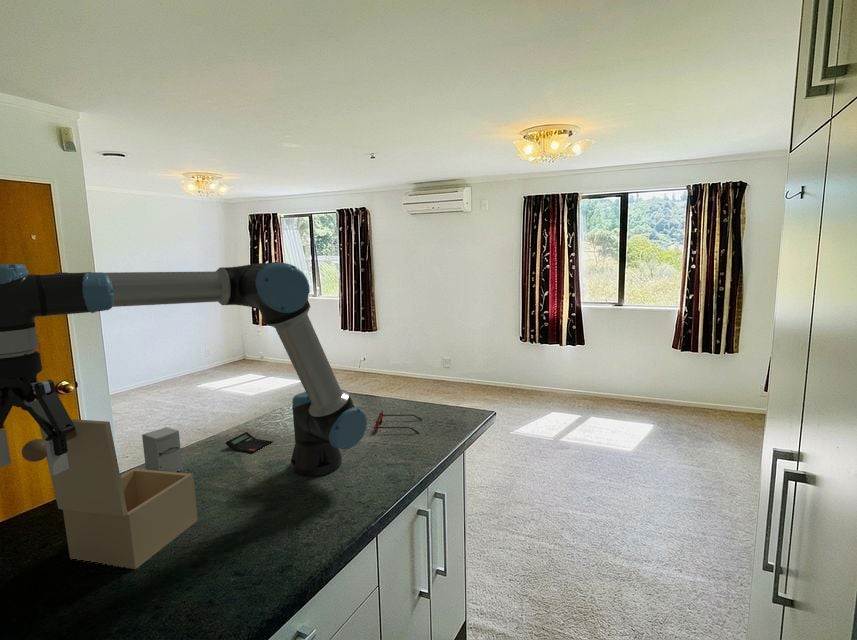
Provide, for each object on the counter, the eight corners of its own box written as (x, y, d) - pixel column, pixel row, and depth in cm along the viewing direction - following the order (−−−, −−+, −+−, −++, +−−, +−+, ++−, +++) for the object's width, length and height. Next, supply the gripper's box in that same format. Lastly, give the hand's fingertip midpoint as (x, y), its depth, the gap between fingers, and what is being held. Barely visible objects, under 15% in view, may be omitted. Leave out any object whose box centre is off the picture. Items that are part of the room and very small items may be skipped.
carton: (197, 520, 112) (192, 474, 110) (135, 569, 95) (128, 514, 93) (139, 513, 116) (134, 468, 114) (70, 559, 99) (62, 506, 97)
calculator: (253, 454, 151) (252, 445, 150) (226, 450, 155) (225, 441, 154) (272, 443, 159) (272, 435, 159) (246, 439, 163) (245, 431, 163)
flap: (109, 421, 89) (58, 445, 80) (127, 513, 93) (81, 547, 84) (42, 417, 93) (-14, 439, 83) (63, 506, 97) (11, 537, 87)
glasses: (380, 421, 178) (379, 408, 178) (422, 420, 177) (422, 408, 177) (373, 434, 165) (373, 421, 164) (419, 434, 164) (419, 421, 163)
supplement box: (159, 480, 134) (154, 438, 132) (145, 474, 138) (140, 434, 136) (183, 469, 140) (179, 430, 138) (170, 464, 144) (166, 426, 142)
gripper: (89, 350, 81) (105, 464, 84) (-18, 348, 86) (1, 455, 89) (45, 359, 73) (64, 484, 76) (-68, 357, 79) (-47, 473, 82)
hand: (30, 469), depth 83 cm, fingers open, 13 cm apart
